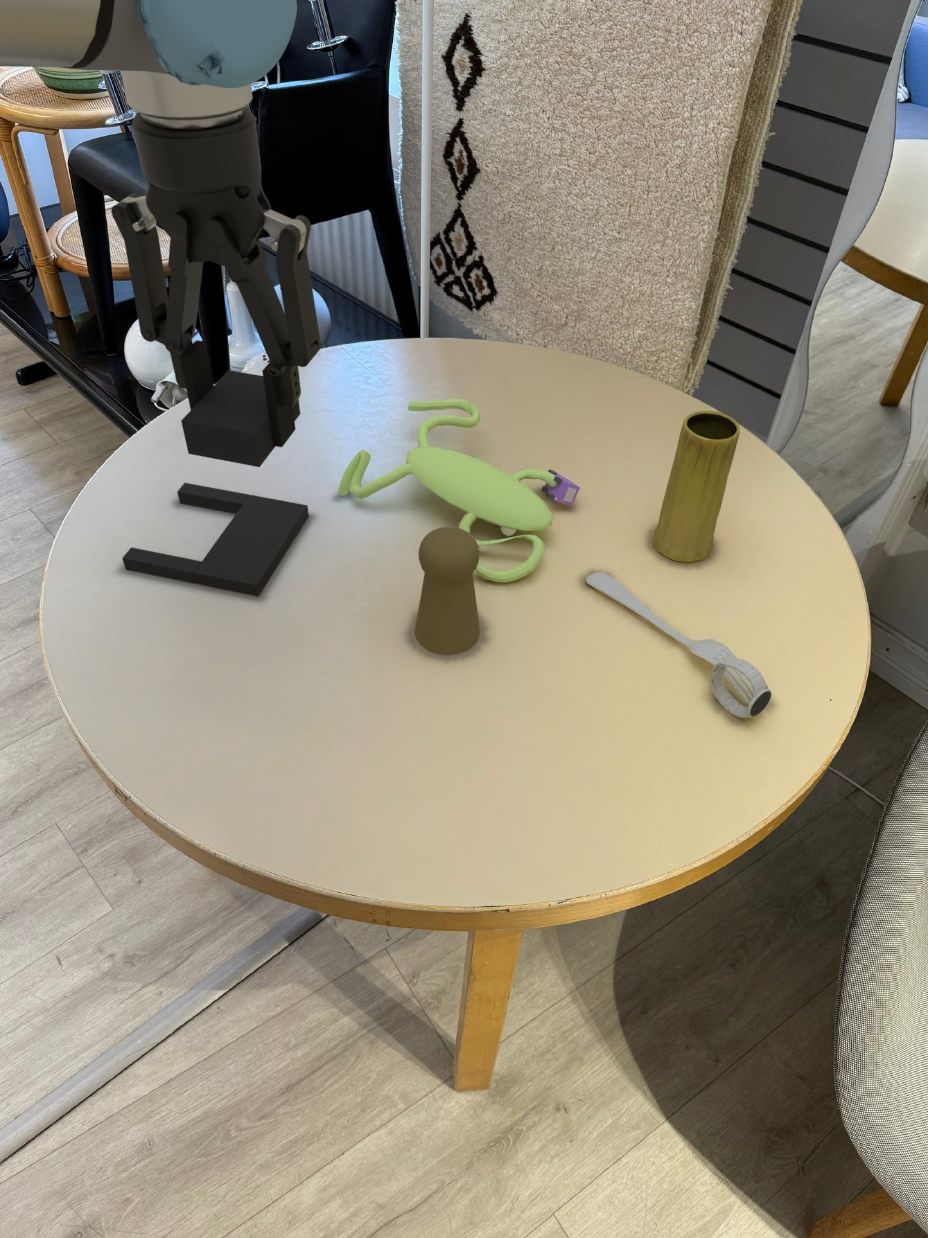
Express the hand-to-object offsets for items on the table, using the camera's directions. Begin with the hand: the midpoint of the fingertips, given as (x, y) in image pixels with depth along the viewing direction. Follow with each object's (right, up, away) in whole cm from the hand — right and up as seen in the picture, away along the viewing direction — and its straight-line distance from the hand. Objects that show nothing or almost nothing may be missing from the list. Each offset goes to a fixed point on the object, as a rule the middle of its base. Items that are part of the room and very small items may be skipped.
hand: (245, 429), depth 72 cm
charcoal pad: (0, 0, 0) cm, 0 cm away
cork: (+16, -16, +11) cm, 26 cm away
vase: (+40, -8, +22) cm, 46 cm away
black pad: (-7, -7, +20) cm, 22 cm away
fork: (+37, -17, +12) cm, 42 cm away
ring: (+41, -23, +6) cm, 47 cm away
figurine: (+17, -2, +26) cm, 31 cm away
